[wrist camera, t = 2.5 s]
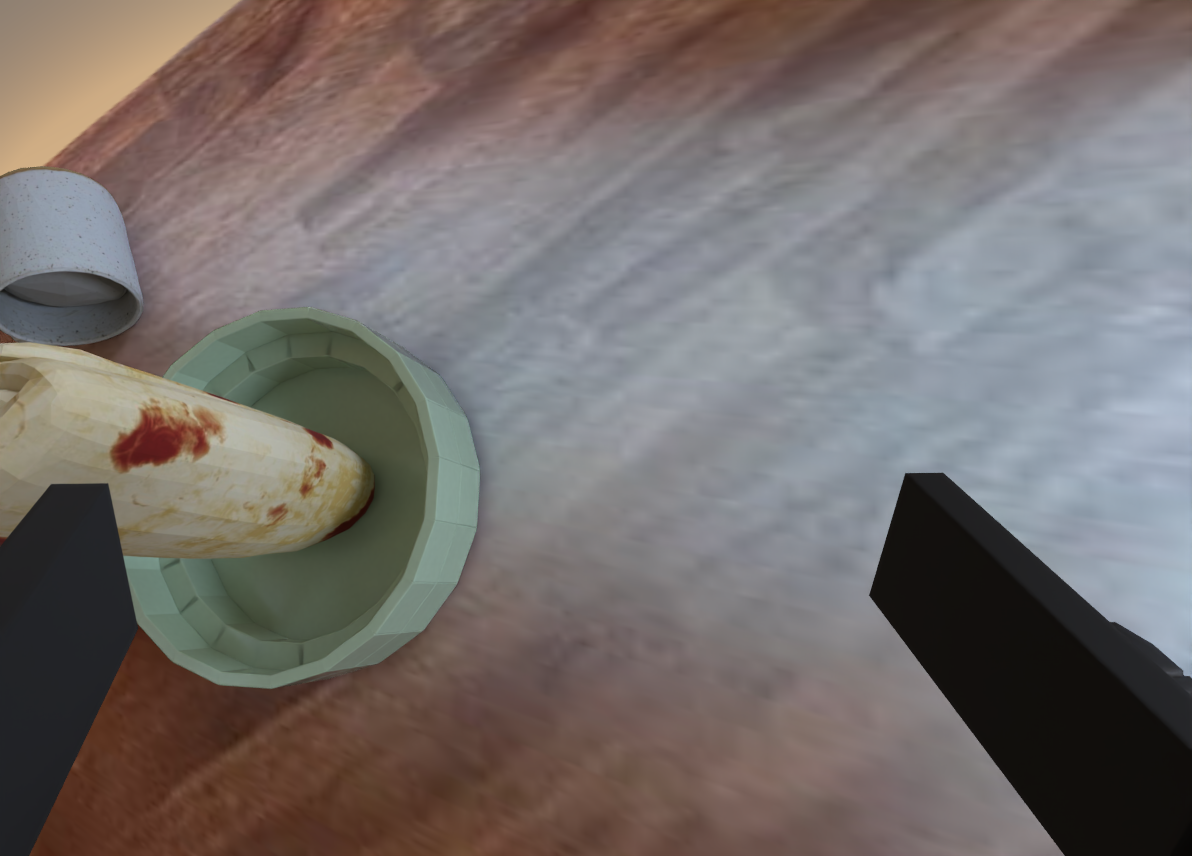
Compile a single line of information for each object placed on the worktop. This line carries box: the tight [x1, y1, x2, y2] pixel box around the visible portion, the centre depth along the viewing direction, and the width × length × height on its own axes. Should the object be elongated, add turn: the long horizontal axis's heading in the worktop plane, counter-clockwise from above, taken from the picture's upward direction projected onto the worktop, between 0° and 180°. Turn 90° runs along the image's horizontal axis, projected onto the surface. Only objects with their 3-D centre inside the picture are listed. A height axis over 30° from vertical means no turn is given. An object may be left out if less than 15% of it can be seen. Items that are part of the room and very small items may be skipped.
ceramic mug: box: [0, 166, 143, 346], centre depth 47 cm, size 11×8×8 cm
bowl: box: [123, 307, 480, 689], centre depth 41 cm, size 18×18×5 cm
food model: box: [0, 342, 375, 559], centre depth 34 cm, size 10×7×20 cm
